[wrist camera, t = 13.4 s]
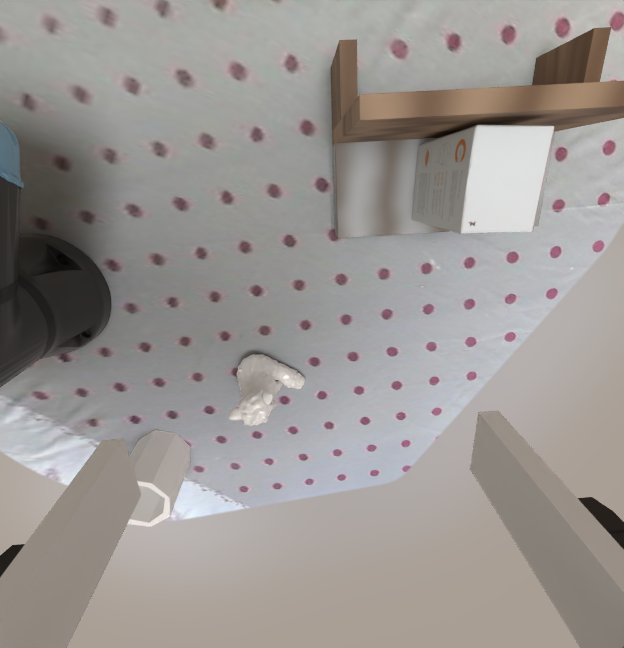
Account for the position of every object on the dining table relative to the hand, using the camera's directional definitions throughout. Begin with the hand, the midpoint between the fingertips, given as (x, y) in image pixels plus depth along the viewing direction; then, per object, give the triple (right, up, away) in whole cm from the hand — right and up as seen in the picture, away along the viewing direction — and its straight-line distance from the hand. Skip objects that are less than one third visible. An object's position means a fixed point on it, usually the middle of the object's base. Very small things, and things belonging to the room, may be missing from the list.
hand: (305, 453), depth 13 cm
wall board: (+15, +25, +28) cm, 40 cm away
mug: (-24, -17, +43) cm, 52 cm away
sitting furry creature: (-7, -2, +38) cm, 39 cm away
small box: (+15, +21, +27) cm, 37 cm away
